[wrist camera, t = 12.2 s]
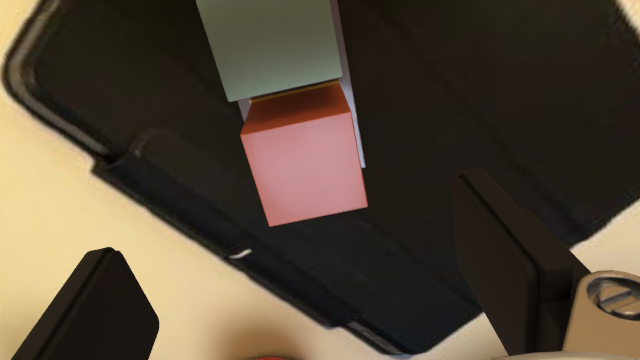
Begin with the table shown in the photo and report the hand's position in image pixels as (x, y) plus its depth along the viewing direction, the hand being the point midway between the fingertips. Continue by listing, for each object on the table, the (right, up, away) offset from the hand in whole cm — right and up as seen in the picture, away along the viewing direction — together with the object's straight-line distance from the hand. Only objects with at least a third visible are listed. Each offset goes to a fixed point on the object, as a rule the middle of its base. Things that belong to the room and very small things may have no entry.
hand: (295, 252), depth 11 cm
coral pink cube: (0, +4, +9) cm, 10 cm away
